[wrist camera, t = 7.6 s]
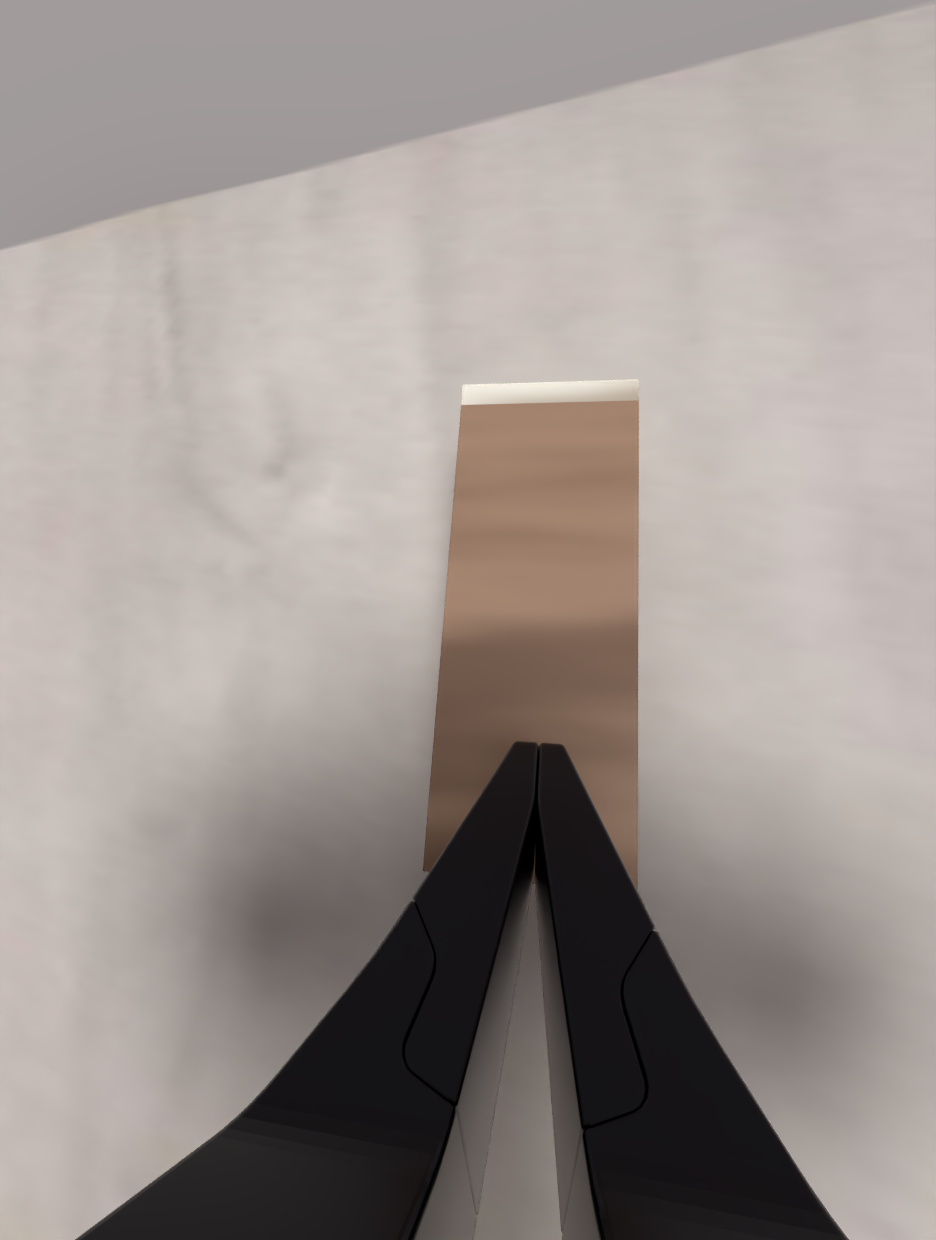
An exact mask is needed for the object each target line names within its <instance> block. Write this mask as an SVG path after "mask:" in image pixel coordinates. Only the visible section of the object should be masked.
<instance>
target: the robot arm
mask: <svg viewBox="0 0 936 1240" xmlns="http://www.w3.org/2000/svg"><path fill="white" fill-rule="evenodd" d="M534 861H535V890H536V904H537V917H538V930H539V943H540V957H541V970H542V983H543V996H544V1009H545V1023H546V1036H547V1049H548V1062H549V1076H550V1089H551V1102H552V1115H553V1129H554V1142H555V1155H556V1168H557V1182H558V1195H559V1208H560V1221H561V1231H562V1233H563V1235H562V1240H849V1239H848V1238H847V1237H846V1235H845V1234H844V1233H843V1231H842V1230H841V1229H840V1227H839V1226H838V1225H837V1223H836V1222H835V1221H834V1219H833V1218H832V1217H831V1215H830V1214H829V1213H828V1211H827V1210H826V1208H825V1207H824V1205H823V1204H822V1203H821V1201H820V1200H819V1198H818V1197H817V1195H816V1194H815V1193H814V1191H813V1190H812V1188H811V1187H810V1185H809V1184H808V1182H807V1180H806V1179H805V1177H804V1176H803V1174H802V1173H801V1171H800V1170H799V1168H798V1167H797V1165H796V1164H795V1162H794V1160H793V1159H792V1157H791V1156H790V1154H789V1152H788V1151H787V1149H786V1148H785V1146H784V1145H783V1143H782V1141H781V1140H780V1138H779V1137H778V1135H777V1133H776V1132H775V1130H774V1129H773V1127H772V1126H771V1124H770V1122H769V1121H768V1119H767V1118H766V1116H765V1114H764V1113H763V1111H762V1110H761V1108H760V1107H759V1105H758V1103H757V1102H756V1100H755V1099H754V1097H753V1096H752V1094H751V1092H750V1091H749V1089H748V1088H747V1086H746V1084H745V1083H744V1081H743V1080H742V1078H741V1077H740V1075H739V1073H738V1072H737V1070H736V1069H735V1067H734V1065H733V1064H732V1062H731V1061H730V1059H729V1058H728V1056H727V1054H726V1053H725V1051H724V1050H723V1048H722V1046H721V1045H720V1043H719V1041H718V1040H717V1038H716V1036H715V1035H714V1033H713V1031H712V1030H711V1028H710V1026H709V1025H708V1023H707V1021H706V1020H705V1018H704V1016H703V1015H702V1013H701V1011H700V1010H699V1008H698V1006H697V1005H696V1003H695V1001H694V1000H693V998H692V996H691V994H690V992H689V991H688V989H687V987H686V985H685V983H684V981H683V979H682V977H681V976H680V974H679V972H678V970H677V968H676V966H675V964H674V963H673V961H672V959H671V957H670V955H669V953H668V951H667V949H666V947H665V945H664V943H663V941H662V939H661V937H660V935H659V933H658V932H657V931H654V929H655V926H654V923H653V921H652V919H651V917H650V915H649V914H648V912H647V910H646V908H645V906H644V904H643V902H642V900H641V898H640V896H639V894H638V892H637V890H636V888H635V886H634V884H633V882H632V880H631V878H630V876H629V874H628V872H627V870H626V868H625V866H624V864H623V862H622V860H621V858H620V856H619V854H618V852H617V850H616V848H615V846H614V844H613V842H612V840H611V838H610V836H609V834H608V832H607V830H606V828H605V826H604V824H603V822H602V820H601V818H600V816H599V814H598V812H597V810H596V808H595V806H594V804H593V802H592V800H591V798H590V796H589V794H588V792H587V790H586V788H585V786H584V784H583V782H582V780H581V778H580V776H579V774H578V772H577V770H576V768H575V766H574V764H573V762H572V760H571V758H570V756H569V754H568V752H567V750H566V748H565V747H564V746H563V745H562V744H552V743H541V744H540V746H539V745H538V744H537V743H536V742H524V741H516V742H514V743H513V745H512V746H511V748H510V749H509V751H508V752H507V754H506V755H505V757H504V758H503V760H502V761H501V763H500V764H499V766H498V768H497V769H496V771H495V772H494V774H493V775H492V777H491V778H490V780H489V781H488V783H487V784H486V786H485V787H484V789H483V791H482V792H481V794H480V795H479V797H478V798H477V800H476V801H475V803H474V804H473V806H472V807H471V809H470V810H469V812H468V814H467V815H466V817H465V818H464V820H463V821H462V823H461V824H460V826H459V827H458V829H457V830H456V832H455V833H454V835H453V837H452V838H451V840H450V841H449V843H448V844H447V846H446V847H445V849H444V850H443V852H442V853H441V855H440V856H439V858H438V860H437V861H436V863H435V864H434V866H433V867H432V869H431V870H430V872H429V873H428V875H427V876H426V878H425V879H424V881H423V883H422V884H421V886H420V887H419V889H418V890H417V892H416V893H415V895H414V896H413V901H414V902H413V901H410V902H409V904H408V905H407V907H406V908H405V910H404V911H403V913H402V914H401V916H400V917H399V919H398V920H397V922H396V924H395V925H394V926H393V928H392V929H391V931H390V932H389V934H388V935H387V936H386V938H385V939H384V941H383V942H382V944H381V945H380V946H379V948H378V949H377V951H376V952H375V954H374V955H373V956H372V958H371V959H370V960H369V961H368V963H367V964H366V965H365V967H364V968H363V969H362V970H361V972H360V973H359V974H358V976H357V977H356V978H355V979H354V981H353V982H352V983H351V985H350V986H349V987H348V988H347V990H346V991H345V992H344V993H343V994H342V996H341V997H340V998H339V999H338V1001H337V1002H336V1003H335V1004H334V1005H333V1007H332V1008H331V1009H330V1010H329V1011H328V1013H327V1014H326V1015H325V1016H324V1018H323V1019H322V1020H321V1021H320V1022H319V1024H318V1025H317V1026H316V1027H315V1028H314V1030H313V1031H312V1032H311V1033H310V1035H309V1036H308V1037H307V1038H306V1039H305V1041H304V1042H303V1043H302V1044H301V1045H300V1047H299V1048H298V1049H297V1050H296V1052H295V1053H294V1054H293V1055H292V1056H291V1058H290V1059H289V1060H288V1061H287V1062H286V1064H285V1065H284V1066H283V1067H282V1069H281V1070H280V1071H279V1072H278V1073H277V1075H276V1076H275V1077H274V1078H273V1079H272V1080H271V1082H270V1083H269V1084H268V1085H267V1086H266V1087H265V1089H264V1090H263V1091H262V1092H261V1093H260V1094H259V1095H258V1096H257V1097H256V1098H255V1099H254V1100H253V1101H252V1102H251V1103H250V1104H249V1105H248V1106H247V1107H246V1108H245V1109H244V1110H243V1111H242V1112H241V1113H240V1114H239V1115H238V1116H237V1117H236V1118H235V1119H234V1120H232V1121H231V1122H230V1123H229V1124H228V1125H227V1126H226V1127H224V1128H223V1129H222V1130H221V1131H219V1132H218V1133H217V1134H216V1135H214V1136H213V1137H212V1138H210V1139H209V1140H208V1141H206V1142H205V1143H204V1144H202V1145H201V1146H200V1147H198V1148H197V1149H196V1150H194V1151H193V1152H192V1153H190V1154H189V1155H188V1156H186V1157H185V1158H184V1159H182V1160H181V1161H180V1162H178V1163H177V1164H176V1165H174V1166H173V1167H172V1168H170V1169H169V1170H168V1171H166V1172H165V1173H164V1174H162V1175H161V1176H160V1177H158V1178H157V1179H156V1180H154V1181H153V1182H152V1183H150V1184H149V1185H148V1186H146V1187H145V1188H144V1189H142V1190H141V1191H140V1192H138V1193H137V1194H136V1195H134V1196H133V1197H132V1198H130V1199H129V1200H128V1201H126V1202H125V1203H124V1204H122V1205H121V1206H120V1207H118V1208H117V1209H116V1210H114V1211H113V1212H112V1213H110V1214H109V1215H107V1216H106V1217H105V1218H103V1219H102V1220H101V1221H99V1222H98V1223H97V1224H95V1225H94V1226H93V1227H91V1228H90V1229H89V1230H87V1231H86V1232H85V1233H83V1234H82V1235H81V1236H79V1237H78V1238H77V1239H75V1240H473V1239H474V1233H475V1227H476V1215H477V1213H478V1208H479V1202H480V1196H481V1190H482V1184H483V1178H484V1172H485V1166H486V1160H487V1154H488V1148H489V1142H490V1136H491V1130H492V1124H493V1118H494V1112H495V1106H496V1100H497V1094H498V1088H499V1082H500V1076H501V1070H502V1064H503V1058H504V1052H505V1046H506V1039H507V1033H508V1027H509V1021H510V1015H511V1009H512V1003H513V997H514V991H515V985H516V979H517V973H518V967H519V961H520V955H521V949H522V943H523V937H524V931H525V925H526V919H527V913H528V907H529V901H530V895H531V889H532V881H533V874H534Z"/></svg>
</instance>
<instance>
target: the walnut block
mask: <svg viewBox="0 0 936 1240" xmlns="http://www.w3.org/2000/svg"><path fill="white" fill-rule="evenodd" d="M638 494H639V379H630V380H598V381H567V382H536V383H505V384H474V385H463V390H462V402H461V415H460V427H459V439H458V451H457V463H456V475H455V488H454V500H453V512H452V524H451V536H450V548H449V560H448V573H447V585H446V597H445V609H444V621H443V633H442V646H441V658H440V670H439V682H438V694H437V706H436V718H435V731H434V743H433V755H432V767H431V779H430V791H429V803H428V816H427V828H426V840H425V852H424V864H423V871H429V872H430V870H431V869H432V867H433V866H434V864H435V863H436V861H437V860H438V858H439V856H440V855H441V853H442V852H443V850H444V849H445V847H446V846H447V844H448V843H449V841H450V840H451V838H452V837H453V835H454V833H455V832H456V830H457V829H458V827H459V826H460V824H461V823H462V821H463V820H464V818H465V817H466V815H467V814H468V812H469V810H470V809H471V807H472V806H473V804H474V803H475V801H476V800H477V798H478V797H479V795H480V794H481V792H482V791H483V789H484V787H485V786H486V784H487V783H488V781H489V780H490V778H491V777H492V775H493V774H494V772H495V771H496V769H497V768H498V766H499V764H500V763H501V761H502V760H503V758H504V757H505V755H506V754H507V752H508V751H509V749H510V748H511V746H512V745H513V743H514V742H516V741H524V742H536V743H537V744H538V745H539V746H540V744H541V743H552V744H562V745H563V746H564V747H565V748H566V750H567V752H568V754H569V756H570V758H571V760H572V762H573V764H574V766H575V768H576V770H577V772H578V774H579V776H580V778H581V780H582V782H583V784H584V786H585V788H586V790H587V792H588V794H589V796H590V798H591V800H592V802H593V804H594V806H595V808H596V810H597V812H598V814H599V816H600V818H601V820H602V822H603V824H604V826H605V828H606V830H607V832H608V834H609V836H610V838H611V840H612V842H613V844H614V846H615V848H616V850H617V852H618V854H619V856H620V858H621V860H622V862H623V864H624V866H625V868H626V870H627V872H628V874H629V876H630V878H631V880H632V882H633V884H634V886H635V888H636V890H637V811H638ZM532 883H533V884H535V861H534V874H533V881H532Z"/></svg>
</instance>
